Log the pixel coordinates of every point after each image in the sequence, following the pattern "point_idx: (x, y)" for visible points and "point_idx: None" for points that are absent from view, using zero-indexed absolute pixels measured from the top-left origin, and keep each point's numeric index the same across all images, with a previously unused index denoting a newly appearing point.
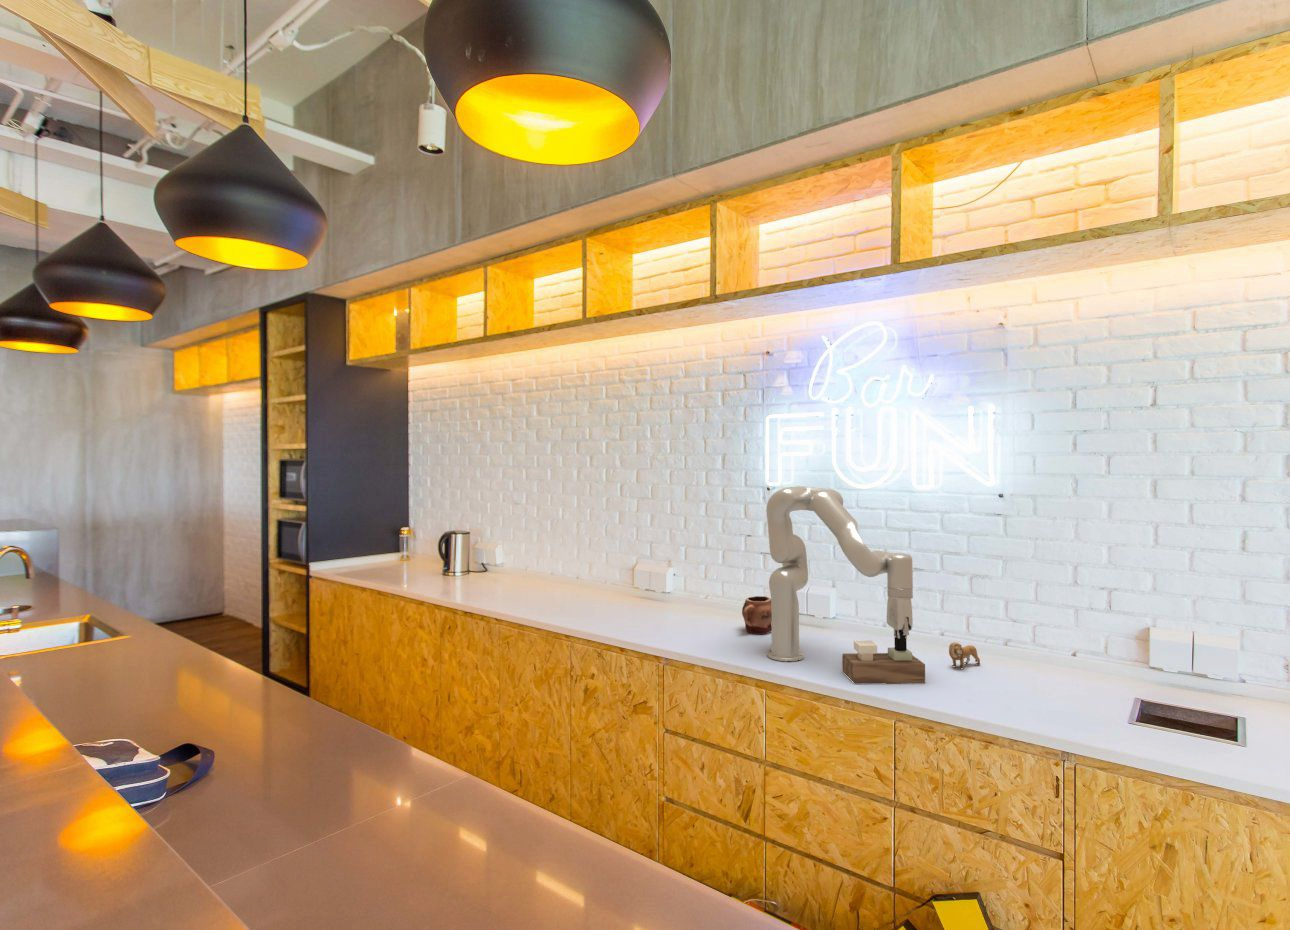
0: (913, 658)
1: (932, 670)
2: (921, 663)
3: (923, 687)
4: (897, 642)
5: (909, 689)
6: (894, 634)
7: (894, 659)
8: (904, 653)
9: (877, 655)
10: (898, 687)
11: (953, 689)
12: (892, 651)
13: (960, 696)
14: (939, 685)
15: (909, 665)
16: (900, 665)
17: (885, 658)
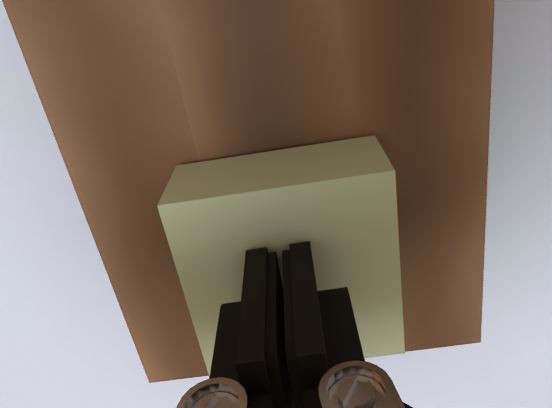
0: None
1: (448, 372)
2: (164, 364)
3: (98, 260)
4: (240, 328)
5: (22, 168)
6: (386, 388)
7: (175, 171)
8: (191, 304)
9: (394, 12)
10: (40, 101)
11: (112, 390)
12: (221, 194)
13: (4, 393)
14: None
15: (111, 269)
16: (83, 194)
17: (272, 87)
